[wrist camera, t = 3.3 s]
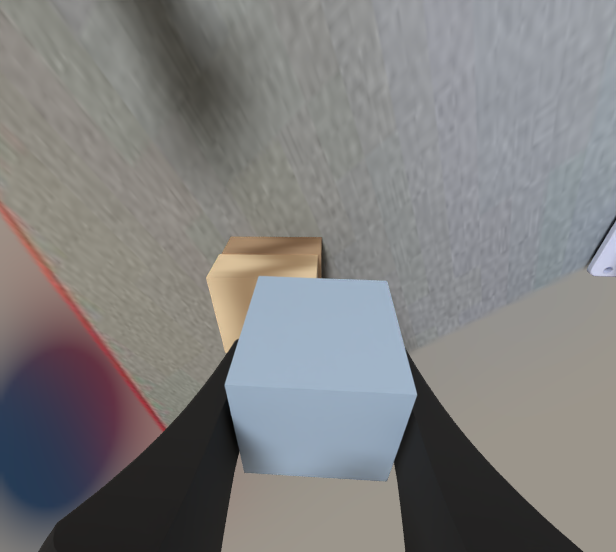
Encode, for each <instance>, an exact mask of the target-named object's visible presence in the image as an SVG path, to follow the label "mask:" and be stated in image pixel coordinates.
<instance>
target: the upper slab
mask: <svg viewBox="0 0 616 552" xmlns="http://www.w3.org/2000/svg"><path fill="white" fill-rule="evenodd" d="M259 276H273V277H298V278H318V255H239V254H219V256H218V258H217V259H216V261H215V263H214V265H213V267H212V268H211V270H210V272H209V274H208V275H207V277H206V279H207V283H208V287H209V291H210V295H211V299H212V302H213V306H214V310H215V314H216V318H217V322H218V326H219V330H220V334H221V337H222V341H223V345H224V349H225V353H227V352H228V351H229V349H230V348H231V346H232V345H233V343H234V341H235V340H237V339H239V337H240V334H241V331H242V328H243V325H244V321H245V318H246V315H247V312H248V309H249V305H250V302H251V299H252V296H253V293H254V289H255V286H256V283H257V280H258V277H259Z"/></svg>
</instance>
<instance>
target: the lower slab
mask: <svg viewBox="0 0 616 552" xmlns="http://www.w3.org/2000/svg"><path fill="white" fill-rule="evenodd" d="M222 254H239V255H318V278H321V257H322V237H230V239H229V241H228V243H227V245H226V247H225V248H224V250H223V252H222Z"/></svg>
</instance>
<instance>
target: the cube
mask: <svg viewBox="0 0 616 552" xmlns="http://www.w3.org/2000/svg"><path fill="white" fill-rule="evenodd" d="M225 389H226V393H227V398H228V402H229V407H230V411H231V416H232V420H233V424H234V429H235V433H236V438H237V442H238V446H239V451H240V455H241V460H242V464H243V469H244V472H245V473H259V474H275V475H290V476H308V477H323V478H339V479H356V480H372V481H387V480H388V476H389V474H390V471H391V468H392V465H393V462H394V460H395V457H396V454H397V451H398V448H399V445H400V442H401V440H402V437H403V434H404V431H405V428H406V425H407V422H408V420H409V417H410V414H411V411H412V408H413V405H414V402H415V400H416V397H417V392H416V388H415V385H414V381H413V377H412V373H411V370H410V366H409V362H408V358H407V354H406V351H405V347H404V343H403V339H402V336H401V332H400V328H399V324H398V321H397V317H396V313H395V309H394V305H393V302H392V298H391V294H390V290H389V287H388V283H387V281H375V280H350V279H324V278H298V277H273V276H259V277H258V280H257V283H256V286H255V289H254V293H253V296H252V299H251V302H250V305H249V309H248V312H247V315H246V318H245V321H244V325H243V328H242V331H241V334H240V337H239V340H238V344H237V347H236V350H235V353H234V356H233V360H232V363H231V366H230V369H229V372H228V376H227V379H226V382H225Z"/></svg>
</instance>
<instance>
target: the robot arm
mask: <svg viewBox="0 0 616 552" xmlns="http://www.w3.org/2000/svg"><path fill="white" fill-rule="evenodd" d="M605 268H606V269H605ZM604 269H605V270H604ZM587 271H588V272H589V273H590V274H591V275H593V276H609V277H616V222H615V223H614V225H613V226H612V228H611V230H610V231H609V233H608V235H607V236H606V238H605V240H604V241H603V243H602V245H601V246H600V248H599V249H598V251H597V253H596V254H595V256H594V258H593V259H592V261H591V263H590V264H589V266H588V268H587ZM238 340H239V339H237V340H235V341H234V343H233V345H232V346H231V348H230V349H229V351H228V352H227V354H226V355H225V357H224V358H223V360H222V361H221V363H220V364H219V366H218V367H217V368H216V370H215V371H214V373H213V374H212V375H211V377H210V378H209V379H208V381H207V382H206V383H205V385H204V386H203V387H202V388H201V390H200V391H199V392H198V393H197V395H196V396H195V397H194V398H193V399H192V401H191V402H190V403H189V404H188V405H187V407H186V408H185V409H184V410H183V411H182V412H181V414H180V415H179V416H178V417H177V418H176V419H175V420H174V421H173V422H172V423H171V424H170V425H169V427H168V428H167V429H166V430H165V431H164V432H163V433H162V434H161V435H160V436H159V437H158V438H157V439H156V440H155V441H154V442H153V443H152V444H151V445H150V446H149V447H148V448H147V449H146V450H145V451H143V453H141V454H140V455H139V456H138V457H137V458H136V459H135V460H134V461H133V462H131V463H130V464H129V465H128V466H127V467H126V468H124V469H123V470H122V471H121V472H120V473H119V474H118V475H116V476H115V477H114V478H113V479H112V480H111V481H109V483H107V484H106V485H105V486H104V487H102V488H101V489H100V490H99V491H97V492H96V493H95V494H94V495H92V496H91V497H90V498H89V499H87V500H86V501H85V502H84V503H82V504H81V505H80V506H79V507H77V508H76V509H75V510H73V511H72V512H71V513H69V514H68V515H67V516H65V517H64V518H63V519H61V520H60V521H59V522H58V523H57V524H56V525H55V527H54V528H53V530H52V531H51V533H50V534H49V536H48V537H47V539H46V540H45V542H44V543H43V545H42V546H41V548H40V550H39V551H38V552H221V548H222V541H223V535H224V529H225V523H226V517H227V511H228V505H229V499H230V493H231V488H232V483H233V477H234V472H235V467H236V463H237V459H238V455H239V446H238V442H237V438H236V433H235V429H234V424H233V420H232V416H231V411H230V407H229V402H228V398H227V393H226V389H225V382H226V379H227V376H228V372H229V369H230V366H231V363H232V360H233V356H234V353H235V350H236V347H237V344H238ZM405 351H406V354H407V358H408V362H409V366H410V370H411V373H412V377H413V381H414V385H415V388H416V392H417V397H416V400H415V402H414V405H413V408H412V411H411V414H410V417H409V420H408V422H407V425H406V428H405V431H404V434H403V437H402V440H401V442H400V445H399V448H398V451H397V454H396V457H395V460H394V465H395V470H396V476H397V482H398V490H399V497H400V506H401V514H402V523H403V533H404V542H405V552H583V551H582V550H581V549H580V548H578V547H577V546H576V545H575V544H574V543H573V542H571V541H570V540H569V539H568V538H567V537H566V536H565V535H563V534H562V533H561V532H560V531H559V530H558V529H556V528H555V527H554V526H553V525H552V524H551V523H550V522H549V521H547V519H545V518H544V517H543V516H542V515H541V514H540V513H539V512H538V511H537V510H536V509H535V508H534V507H533V506H532V505H531V504H529V503H528V502H527V501H526V500H525V499H524V498H523V497H522V496H521V495H520V494H519V493H518V492H517V491H516V490H515V489H514V488H513V487H512V486H511V485H510V484H509V483H508V482H507V481H506V480H505V479H504V478H503V477H502V476H501V475H500V474H499V473H498V472H497V471H496V470H495V468H494V467H493V466H492V465H491V464H490V463H489V462H488V461H487V460H486V459H485V458H484V456H483V455H482V454H481V453H480V452H479V451H478V450H477V449H476V448H475V446H474V445H473V444H472V443H471V442H470V440H469V439H468V438H467V437H466V436H465V435H464V433H463V432H462V431H461V430H460V428H459V427H458V426H457V425H456V423H455V422H454V421H453V419H452V418H451V417H450V415H449V414H448V413H447V412H446V410H445V409H444V407H443V406H442V405H441V403H440V402H439V401H438V399H437V398H436V396H435V395H434V393H433V392H432V391H431V389H430V387H429V386H428V384H427V383H426V381H425V380H424V378H423V377H422V375H421V374H420V372H419V370H418V369H417V367H416V366H415V364H414V362H413V361H412V359H411V357H410V355H409V354H408V352H407V350H406V348H405Z"/></svg>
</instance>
